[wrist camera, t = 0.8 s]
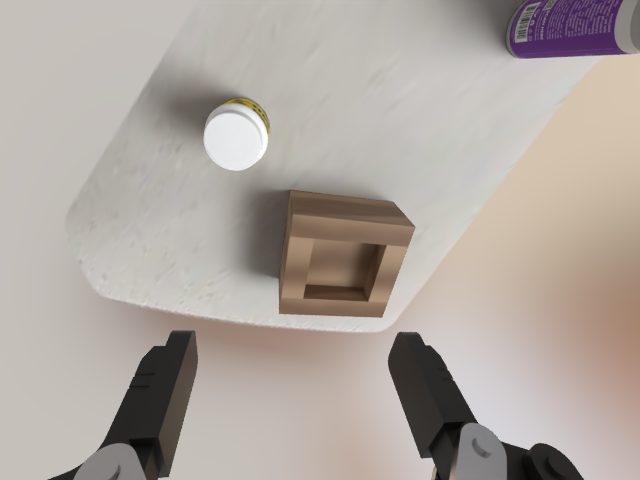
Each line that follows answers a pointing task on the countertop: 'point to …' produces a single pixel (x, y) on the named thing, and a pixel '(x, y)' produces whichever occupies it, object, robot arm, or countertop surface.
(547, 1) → the container
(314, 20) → the countertop surface
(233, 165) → the supplement bottle
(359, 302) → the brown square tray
